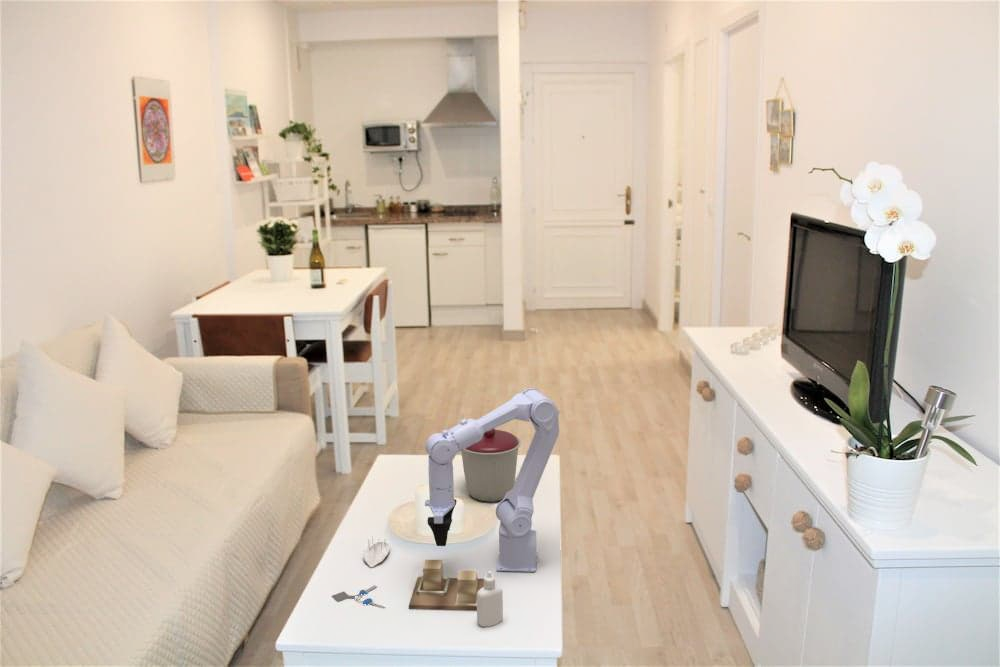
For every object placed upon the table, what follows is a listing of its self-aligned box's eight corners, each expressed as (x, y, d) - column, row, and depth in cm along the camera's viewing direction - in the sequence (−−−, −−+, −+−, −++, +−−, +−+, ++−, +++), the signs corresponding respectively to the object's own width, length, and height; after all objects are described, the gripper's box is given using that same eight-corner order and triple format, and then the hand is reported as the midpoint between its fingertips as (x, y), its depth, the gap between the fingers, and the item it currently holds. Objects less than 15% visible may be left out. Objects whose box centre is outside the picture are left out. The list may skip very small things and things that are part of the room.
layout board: (484, 582, 197) (484, 555, 196) (480, 610, 186) (479, 582, 184) (417, 580, 199) (416, 554, 197) (409, 608, 187) (407, 580, 185)
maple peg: (443, 583, 195) (442, 560, 194) (440, 592, 192) (440, 568, 190) (426, 582, 196) (425, 559, 194) (423, 592, 192) (422, 568, 190)
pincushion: (383, 569, 204) (382, 548, 203) (359, 568, 205) (358, 547, 204) (394, 546, 216) (393, 526, 215) (371, 545, 216) (370, 525, 215)
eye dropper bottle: (477, 616, 184) (476, 567, 181) (502, 615, 184) (502, 566, 181) (476, 627, 180) (475, 577, 177) (502, 627, 180) (502, 577, 177)
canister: (466, 511, 235) (464, 440, 230) (454, 485, 252) (452, 419, 247) (528, 503, 239) (527, 434, 234) (512, 479, 256) (511, 414, 251)
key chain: (328, 602, 191) (328, 598, 191) (343, 583, 198) (343, 580, 198) (384, 610, 187) (384, 607, 187) (398, 591, 195) (398, 588, 195)
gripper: (428, 471, 202) (430, 523, 205) (419, 497, 188) (422, 552, 191) (457, 472, 201) (459, 523, 205) (450, 498, 187) (452, 552, 191)
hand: (443, 537), depth 198 cm, fingers open, 7 cm apart
